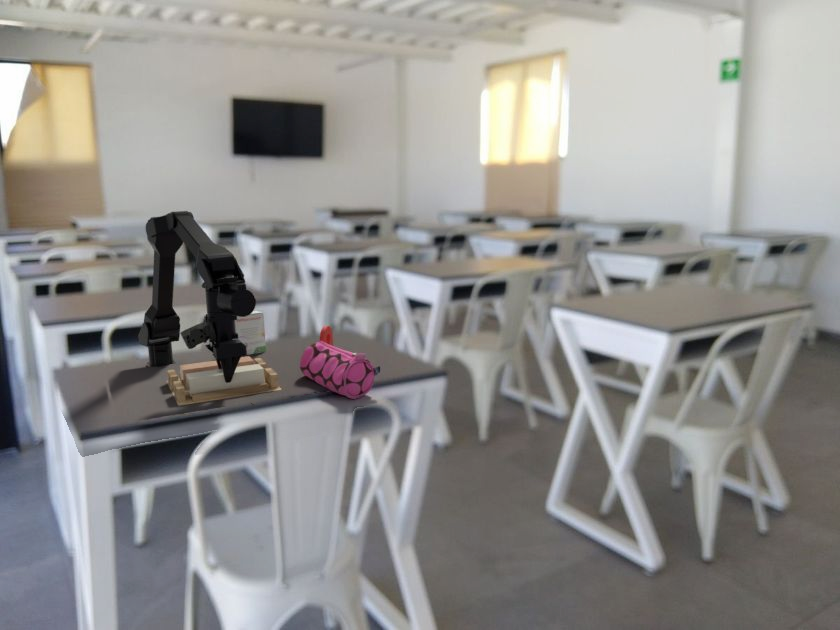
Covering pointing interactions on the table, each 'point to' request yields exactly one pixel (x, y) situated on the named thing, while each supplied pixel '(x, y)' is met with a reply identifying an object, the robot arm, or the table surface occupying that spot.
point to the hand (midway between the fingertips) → (225, 379)
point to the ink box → (252, 332)
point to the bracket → (326, 335)
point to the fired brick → (208, 367)
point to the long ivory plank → (216, 380)
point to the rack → (184, 397)
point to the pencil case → (338, 369)
